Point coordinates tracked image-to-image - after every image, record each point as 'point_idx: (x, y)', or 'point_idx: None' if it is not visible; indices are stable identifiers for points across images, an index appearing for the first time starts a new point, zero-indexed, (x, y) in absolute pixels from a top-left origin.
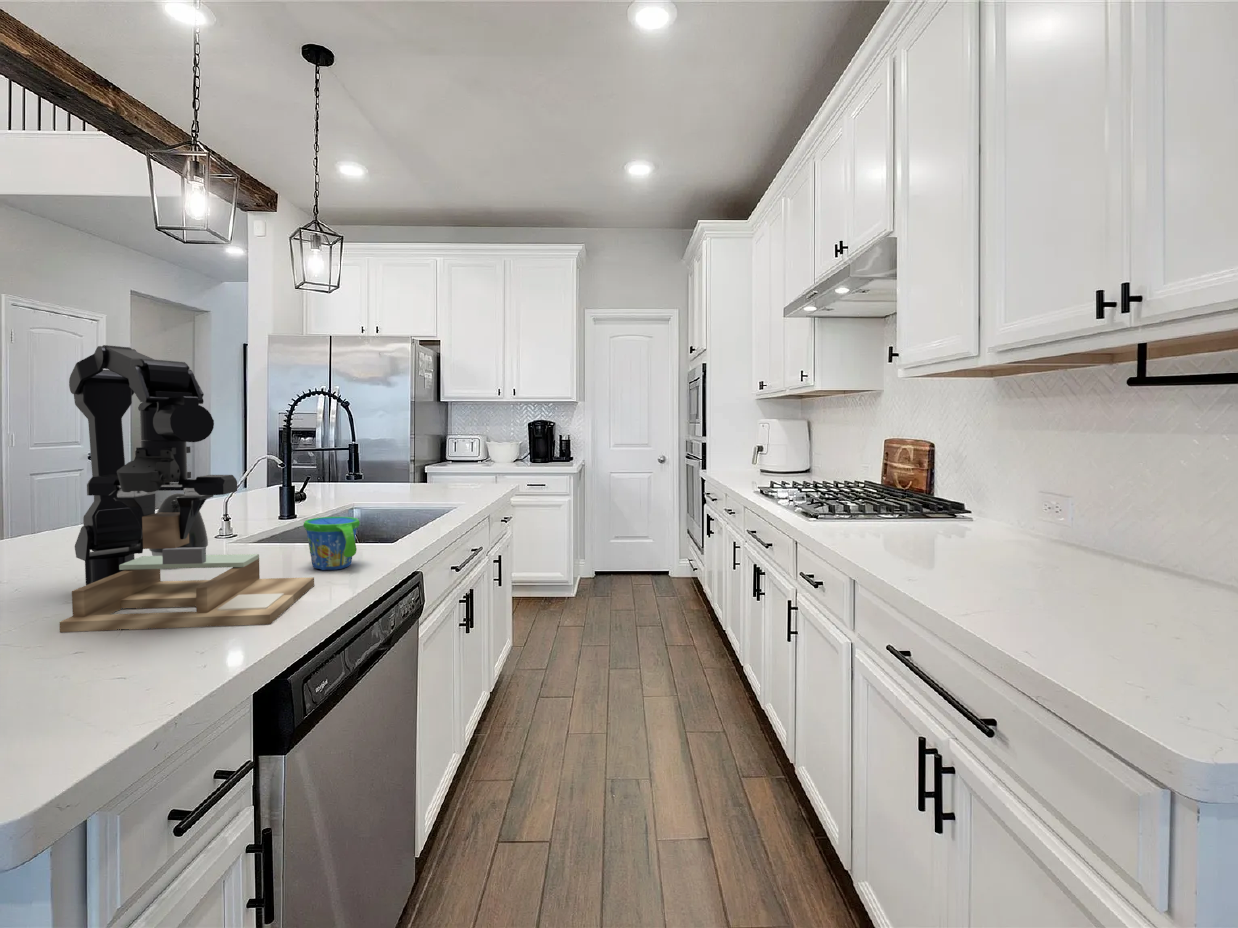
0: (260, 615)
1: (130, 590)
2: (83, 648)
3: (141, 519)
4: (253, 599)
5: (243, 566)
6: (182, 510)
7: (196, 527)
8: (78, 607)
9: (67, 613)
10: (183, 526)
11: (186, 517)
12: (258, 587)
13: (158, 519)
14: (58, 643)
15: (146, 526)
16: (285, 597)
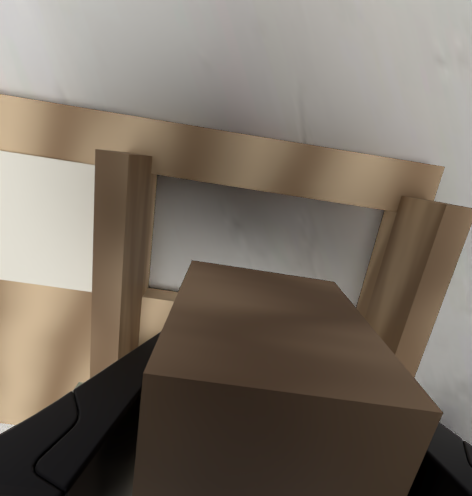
0: None
1: None
2: (346, 9)
3: (435, 440)
4: (48, 238)
5: (78, 383)
6: (50, 466)
7: None
8: (428, 200)
9: (448, 310)
10: (131, 361)
11: (66, 404)
12: (86, 361)
13: (288, 369)
14: (409, 73)
15: (363, 346)
16: None
